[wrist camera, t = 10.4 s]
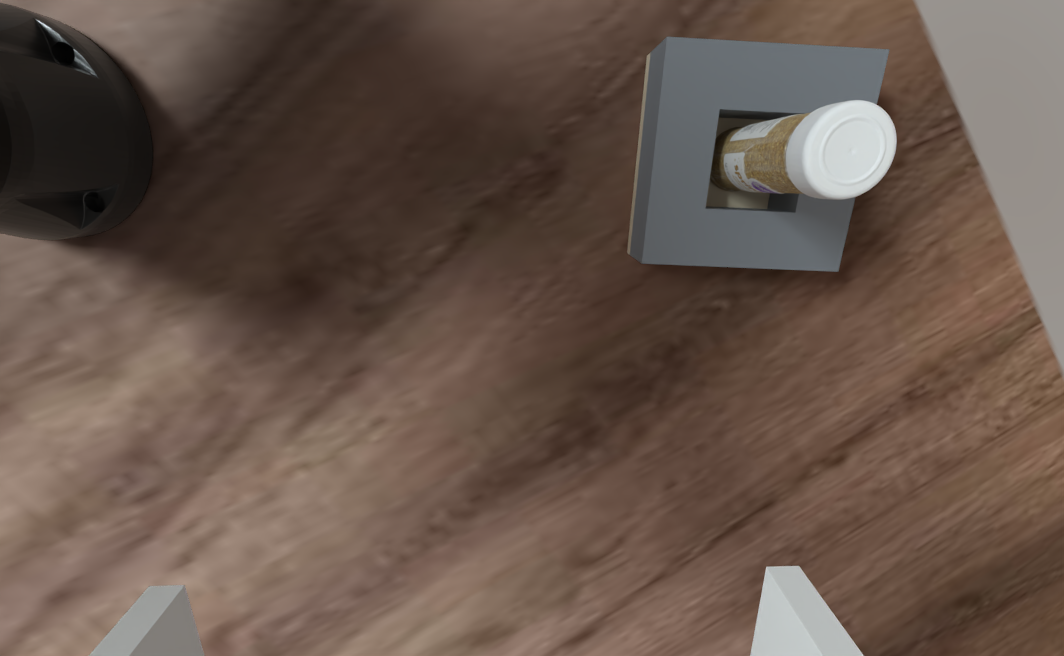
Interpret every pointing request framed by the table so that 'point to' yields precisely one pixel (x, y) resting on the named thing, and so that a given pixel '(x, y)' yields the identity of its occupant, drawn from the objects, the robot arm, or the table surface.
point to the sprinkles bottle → (808, 152)
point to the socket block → (688, 145)
